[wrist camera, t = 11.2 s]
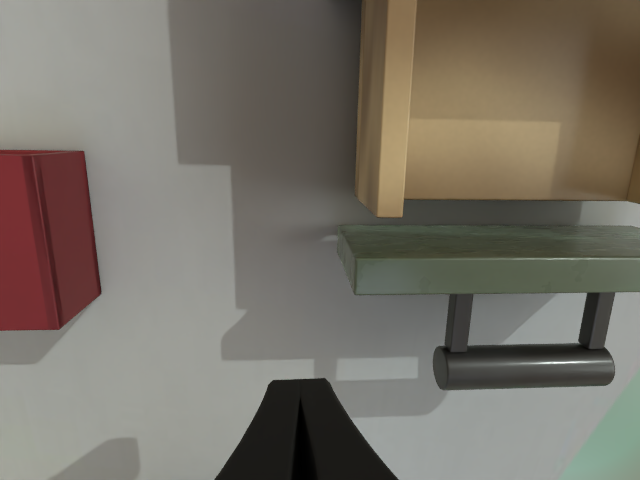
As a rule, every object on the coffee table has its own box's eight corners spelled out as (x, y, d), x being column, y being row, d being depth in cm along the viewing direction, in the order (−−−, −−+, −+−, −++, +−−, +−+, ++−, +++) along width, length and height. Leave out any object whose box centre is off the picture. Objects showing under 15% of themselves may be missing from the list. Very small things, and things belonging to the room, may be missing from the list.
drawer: (608, 334, 19) (708, 397, 15) (334, 339, 18) (349, 408, 14) (700, -109, 15) (883, -217, 10) (347, -132, 14) (375, -261, 9)
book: (102, 293, 18) (59, 330, 14) (-6, 294, 17) (-75, 332, 14) (84, 150, 16) (32, 155, 13) (-34, 149, 16) (-119, 153, 13)
